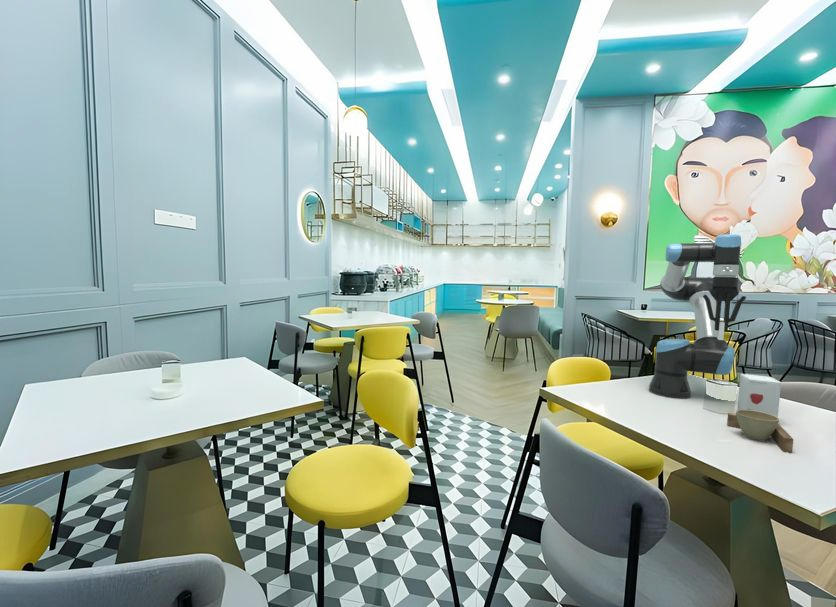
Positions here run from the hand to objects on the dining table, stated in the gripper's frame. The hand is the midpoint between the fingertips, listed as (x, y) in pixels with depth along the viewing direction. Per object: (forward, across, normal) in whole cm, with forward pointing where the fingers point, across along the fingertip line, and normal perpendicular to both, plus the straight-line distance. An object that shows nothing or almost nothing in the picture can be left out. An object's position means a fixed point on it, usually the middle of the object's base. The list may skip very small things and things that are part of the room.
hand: (720, 339), depth 146 cm
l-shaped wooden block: (+26, +7, -28) cm, 39 cm away
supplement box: (+27, +11, -6) cm, 29 cm away
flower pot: (+27, +7, -28) cm, 39 cm away
